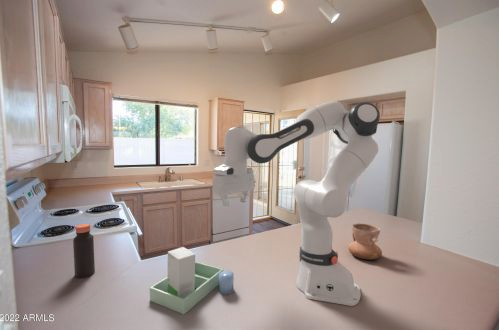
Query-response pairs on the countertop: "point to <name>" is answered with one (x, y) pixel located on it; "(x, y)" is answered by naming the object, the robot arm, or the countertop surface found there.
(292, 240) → the countertop surface
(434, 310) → the countertop surface
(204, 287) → the green divided tray
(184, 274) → the skincare box
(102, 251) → the countertop surface
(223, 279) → the light blue rounded cone
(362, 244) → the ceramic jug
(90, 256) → the vinegar
